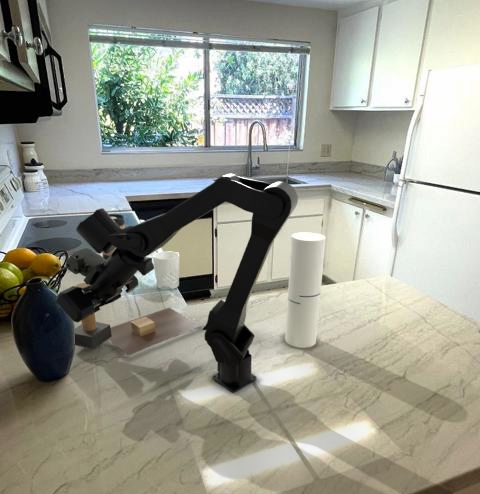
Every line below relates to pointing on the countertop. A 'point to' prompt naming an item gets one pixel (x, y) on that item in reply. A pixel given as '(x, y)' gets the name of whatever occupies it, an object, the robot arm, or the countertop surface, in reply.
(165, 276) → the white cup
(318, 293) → the cylindrical container
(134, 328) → the tan wooden block
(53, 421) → the countertop surface
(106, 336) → the stamp
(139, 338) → the cutting board
